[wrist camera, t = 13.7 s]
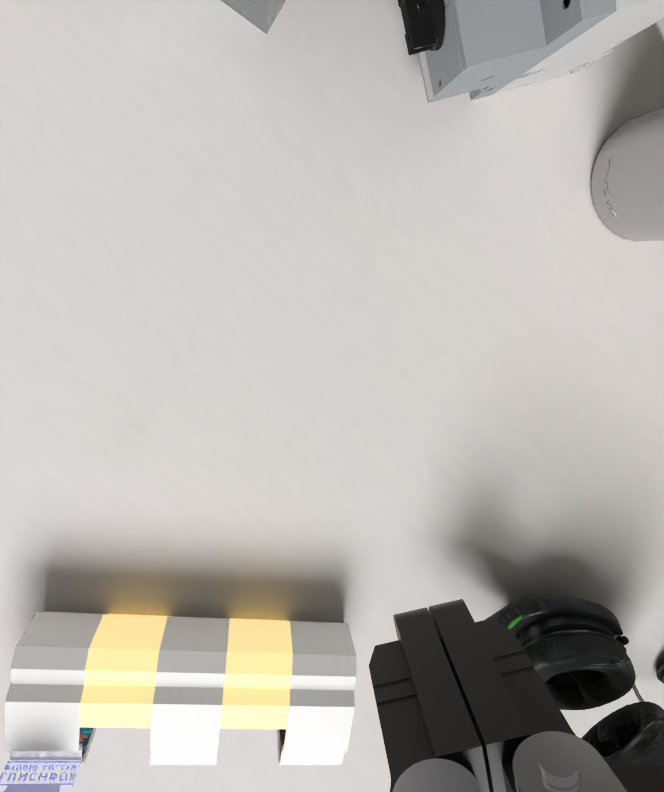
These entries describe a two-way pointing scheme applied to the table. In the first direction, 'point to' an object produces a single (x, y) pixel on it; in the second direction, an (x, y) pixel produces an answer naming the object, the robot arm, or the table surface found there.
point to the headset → (589, 672)
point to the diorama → (176, 688)
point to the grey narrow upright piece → (515, 39)
